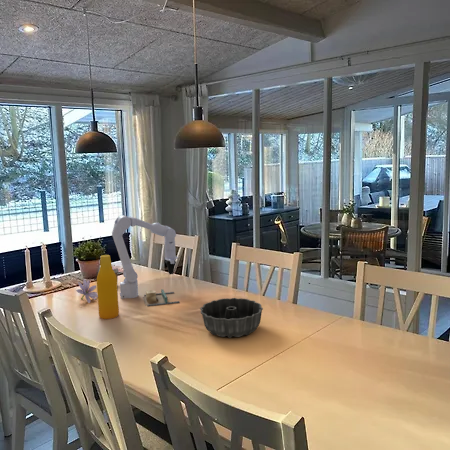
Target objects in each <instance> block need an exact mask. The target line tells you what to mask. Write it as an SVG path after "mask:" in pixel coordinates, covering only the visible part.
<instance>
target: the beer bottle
mask: <svg viewBox="0 0 450 450" xmlns="http://www.w3.org/2000/svg"><path fill="white" fill-rule="evenodd" d="M99 269H100V270H99ZM99 269H98V273H97V276H96V288H97V291H96V292H97V295H98V297H97V304H98V305H97V306H98V307H97V308H98V317H99V318H100V319H102V320H103V319H104V320H110V319H111V320H112V319H115V318H117V317H118V316H119V314H120V308H119V307H120V306H119V296H118V295H119V293H118V279H117V277H116V274H115V272H114V271H113V270H114V268H113V266H112V260H111V255H109V254H103V255H100V263H99Z"/></svg>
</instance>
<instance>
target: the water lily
mask: <svg viewBox="0 0 450 450" xmlns="http://www.w3.org/2000/svg"><path fill="white" fill-rule="evenodd" d="M77 284H78V286H79V288H78V289H75V290H76V292H77V293H78V294H81V295H82V297H81V298H80V300H83V299H84V297H85V300H86V302H87V303H89V304H90V303H91V299H94V300H97V298H98V293H97V291H94V290H95V289H96V288H97V284H96V285H95V284H94V285H91V286H90V284H91V282H90V280H87V281H86V279H85V278H83V281H82V282H79V281H78V282H77Z"/></svg>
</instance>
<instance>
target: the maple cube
mask: <svg viewBox="0 0 450 450" xmlns="http://www.w3.org/2000/svg"><path fill="white" fill-rule="evenodd" d="M145 295H146V300H147V302H153V301H156V290H146V291H145Z"/></svg>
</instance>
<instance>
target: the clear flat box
mask: <svg viewBox="0 0 450 450" xmlns="http://www.w3.org/2000/svg"><path fill="white" fill-rule="evenodd" d="M160 291H161V292H160V293H162V295H156V301H153V302H147V300H146V296H142V299H143V302H144V305H145V306H147V305H148V304H157V303H166V302H168V297H167V294H165V293H166V292H165V290H164V289H163V288H162V289H161V290H160ZM147 307H148V306H147Z"/></svg>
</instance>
